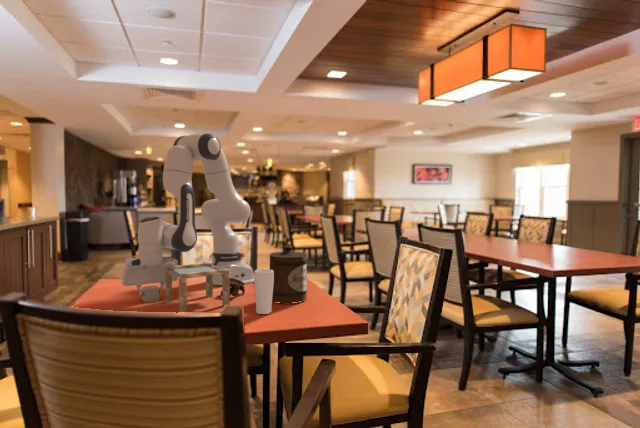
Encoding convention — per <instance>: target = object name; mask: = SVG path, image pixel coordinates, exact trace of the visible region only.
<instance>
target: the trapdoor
mask: <svg viewBox="0 0 640 428" xmlns="http://www.w3.org/2000/svg"><path fill="white" fill-rule="evenodd" d="M212 267H213V266H212ZM212 267H209V266H207V267H196V268H185V269H174V270H172V272H173V273H175V274H177V275H178V277H179V274H182V273H192V272H203V271H213V270H223V269H226V268H223V267H213V268H212ZM212 276H213V275H212ZM221 276H222V274H221ZM203 277H205V276H202V277H201V278H203ZM193 278H195V277H193ZM193 278H192V279H193Z"/></svg>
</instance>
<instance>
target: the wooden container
mask: <svg viewBox="0 0 640 428" xmlns="http://www.w3.org/2000/svg"><path fill="white" fill-rule="evenodd" d="M283 248H284V250H283V251H276V252H272V253H270V254H269V269H271V270H273V271H274V285H273V296H272V301H273V302H280V303H292V302H299V301H303V300H305V299H306V300H307V288H308V287H307V286H308V283H307V282H308V281H307V280H308V278H307V277H308V276H307V275H308V274H307V273H308V269H307V268H308V267H307V264H308V262H307V258H308V255H307V253H305V252H300V251H299V252H298V251H294V250H293V245H291V244H289V243H287V244H285V245H284V246H283ZM273 302H272V303H273Z"/></svg>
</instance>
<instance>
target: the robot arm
mask: <svg viewBox="0 0 640 428" xmlns="http://www.w3.org/2000/svg"><path fill="white" fill-rule="evenodd" d="M167 151H168V152H167V153H166V157H165V161H164V165H163V173H162V185H163V188H164V189H165V190H166V191H167V192H168V193H169V194H170V195H172V196H173V197H174V199H176V200H177V203H178V204H177V205H178V223H177V224H172V223H169V222H167V221H164V219H161V217H160V216H149V217H145V218H142V219H141V220H140V221H139V222H138V223H139V224H138V229H137V242H138V249H137V254H135V255H133V256H131V257H128V258H126V259H124V263H125V264H124V267H123V268H122V272H121V273H122V274H121V284H122V285H123V286H124V287H129V286H135V287H136V288H137V291H139V292H138V293H139V294H138V295H139V297H142V296H144V291H142V285H147V284H149V285H150V284H157V283H158V284H159V286H158V287H159V295H160V294H162V293H163V292H162V291H163V288H165V267H167V266H179V261H178V259H177V258H175V257H163V250H164V248H165V249H168V250H175V251H179V252H181V253H182V252H183V253H187V252H190V251H191V250H193V248H194V247H195V246H196V244H197V241H198V233H197V229H196V196H195V190H194V188H193V182H192V178H193V167H194V166H193V165H194V162H195V161H196V162H197V161H200V162H201V163H202V168H203V173H204V177H205V182H206V186H207V189H208V191H209V192H211V193H212V194H213V195H214V196H215V198H213V199H208V200H206V201H204V202H203V203H202V206H201V210H200V212H201V213H200V214H201V216H202V218H203V219H205V221H206V222H207V224H208V225H209V228H210V231H211V234H212V243H213V244H212V245H213V248H212V249H213V250H212V251H213V252H212V255H211V256H212V257H211V263H212V267H223V268H226V269H229V274H230V278H233V279H237V280H240V281H242V282H243V283H244V284H245V285H246V284H252V283H253V284H254V270H253V268H252V267H251V266H250V265H249V264H247V263H246V262H245V261H243V260H242V259H243V258H245V257H246V255H245V253H243V252H239V251H238V249H239V248H238V247H239V246H238V240H239V238H238V235H237V233H236V232H235V231H233V229H232V227H231V225H230V224H240V223H243V222H247V221H248V220H249V218H250V217H251V206H250V205H249V203H248V202H247V201H246V200H244V199H243V198H242V197H241V196H240V194H239V193H238V192H237V189H236V188H235V185H234V184H233V180H232V177H231V172H230V166H229V163H228V159H227V157H226V155H225V152H224V150H223V148H222V147H221V142H220V139H219V138H218V137H217V136H216V135H214V134H212V133H193V134H188V135H181V136H179V137H177V138H176V139H175V141H174V143H173V145H172V146H170V148H169V149H168V150H167ZM177 280H179V276H178V275H177V274H175V273H173V272H172V282H176V281H177ZM213 285H215V286H216V285H217V286H222V276H221V275H213Z"/></svg>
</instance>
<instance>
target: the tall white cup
mask: <svg viewBox="0 0 640 428" xmlns="http://www.w3.org/2000/svg"><path fill="white" fill-rule="evenodd" d="M253 274H254V282H253V285H254V286H253V287H254V295H255V297H254V298H255V313H256V314H257V313H258V314H257V315H259V314H268V313H270V312H271V313H272V312H273V311H272V310H273V309H272V305H273V302H272V296H273V285H274V271H273V270H271V269H270V268H261V269H260V268H259V269H255V270H253ZM271 313H270V314H271ZM268 315H269V314H268Z"/></svg>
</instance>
